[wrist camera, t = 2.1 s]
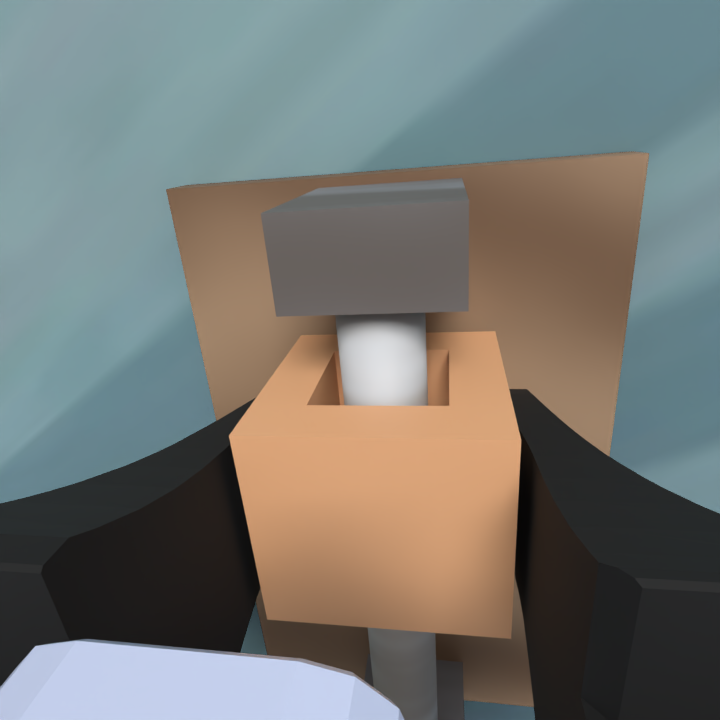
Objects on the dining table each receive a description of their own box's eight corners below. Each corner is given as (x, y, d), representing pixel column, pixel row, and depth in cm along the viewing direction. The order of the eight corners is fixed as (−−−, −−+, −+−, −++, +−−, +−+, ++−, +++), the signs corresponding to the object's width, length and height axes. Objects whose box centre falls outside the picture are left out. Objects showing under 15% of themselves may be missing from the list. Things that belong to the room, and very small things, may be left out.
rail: (569, 680, 17) (610, 866, 13) (281, 654, 19) (231, 810, 15) (632, 151, 11) (758, 164, 6) (186, 184, 12) (47, 213, 8)
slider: (491, 481, 13) (511, 638, 9) (319, 476, 14) (267, 619, 10) (495, 331, 11) (521, 440, 7) (301, 335, 12) (228, 436, 8)
